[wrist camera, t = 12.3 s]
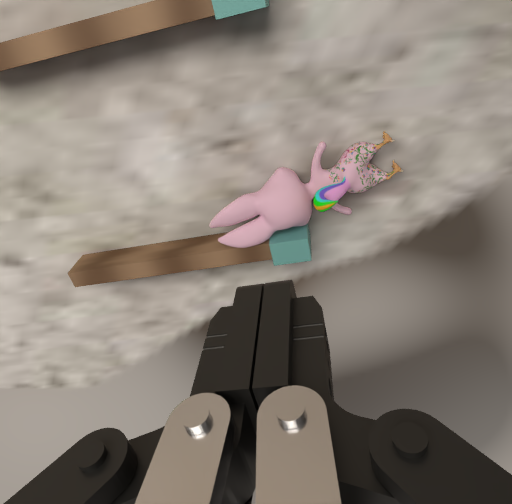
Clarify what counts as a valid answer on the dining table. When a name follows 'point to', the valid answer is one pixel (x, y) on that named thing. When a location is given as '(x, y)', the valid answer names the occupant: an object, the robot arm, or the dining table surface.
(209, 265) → the channel rails
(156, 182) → the dining table surface
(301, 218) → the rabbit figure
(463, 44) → the dining table surface
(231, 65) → the dining table surface
